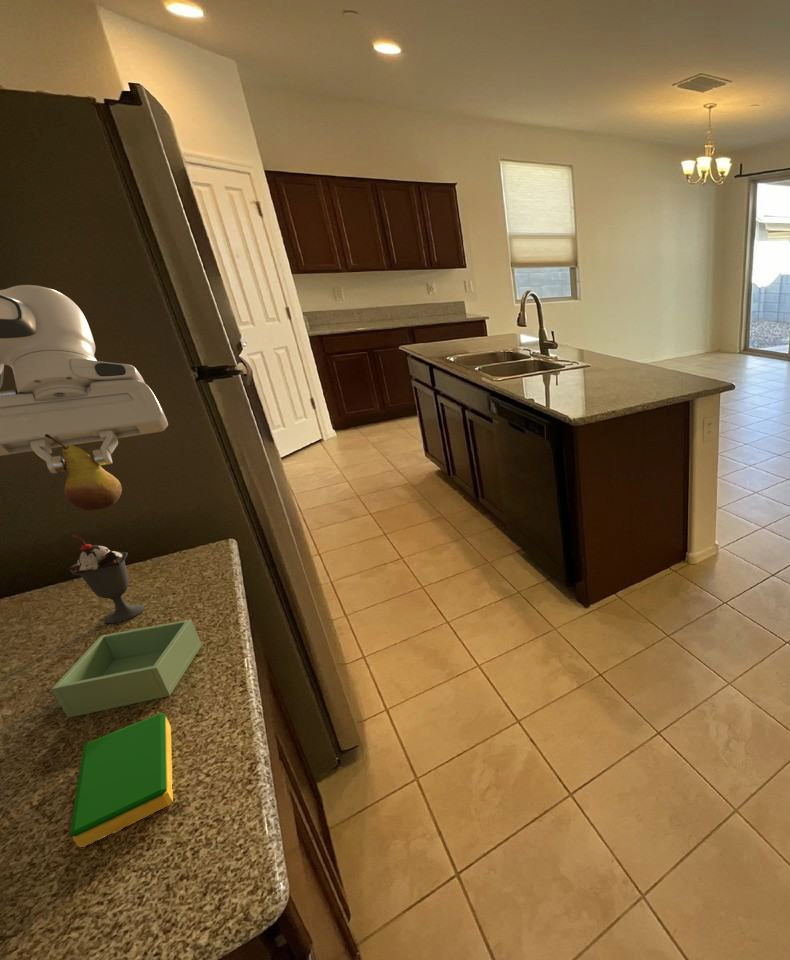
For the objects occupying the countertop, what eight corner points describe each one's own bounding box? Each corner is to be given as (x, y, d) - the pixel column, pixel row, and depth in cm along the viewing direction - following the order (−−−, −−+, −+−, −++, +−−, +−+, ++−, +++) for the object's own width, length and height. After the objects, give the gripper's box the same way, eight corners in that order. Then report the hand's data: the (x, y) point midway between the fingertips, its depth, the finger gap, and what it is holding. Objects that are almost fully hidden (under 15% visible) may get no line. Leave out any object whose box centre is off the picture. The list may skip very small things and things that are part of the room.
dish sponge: (171, 725, 65) (164, 710, 64) (173, 805, 55) (165, 789, 54) (92, 758, 61) (83, 743, 60) (79, 852, 51) (68, 835, 50)
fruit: (132, 505, 76) (98, 426, 71) (77, 520, 72) (37, 437, 67) (124, 496, 79) (91, 420, 75) (70, 509, 75) (32, 429, 70)
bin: (67, 718, 66) (50, 689, 64) (114, 662, 75) (100, 635, 74) (170, 695, 69) (156, 667, 67) (202, 644, 79) (191, 618, 77)
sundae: (100, 611, 87) (60, 532, 81) (153, 597, 90) (118, 520, 84) (92, 632, 82) (49, 549, 76) (148, 616, 85) (111, 536, 79)
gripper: (-62, 383, 67) (-47, 474, 64) (147, 364, 79) (169, 440, 76) (-34, 410, 72) (-19, 496, 69) (159, 388, 84) (180, 460, 81)
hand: (81, 466), depth 73 cm, fingers closed on fruit, 3 cm apart
